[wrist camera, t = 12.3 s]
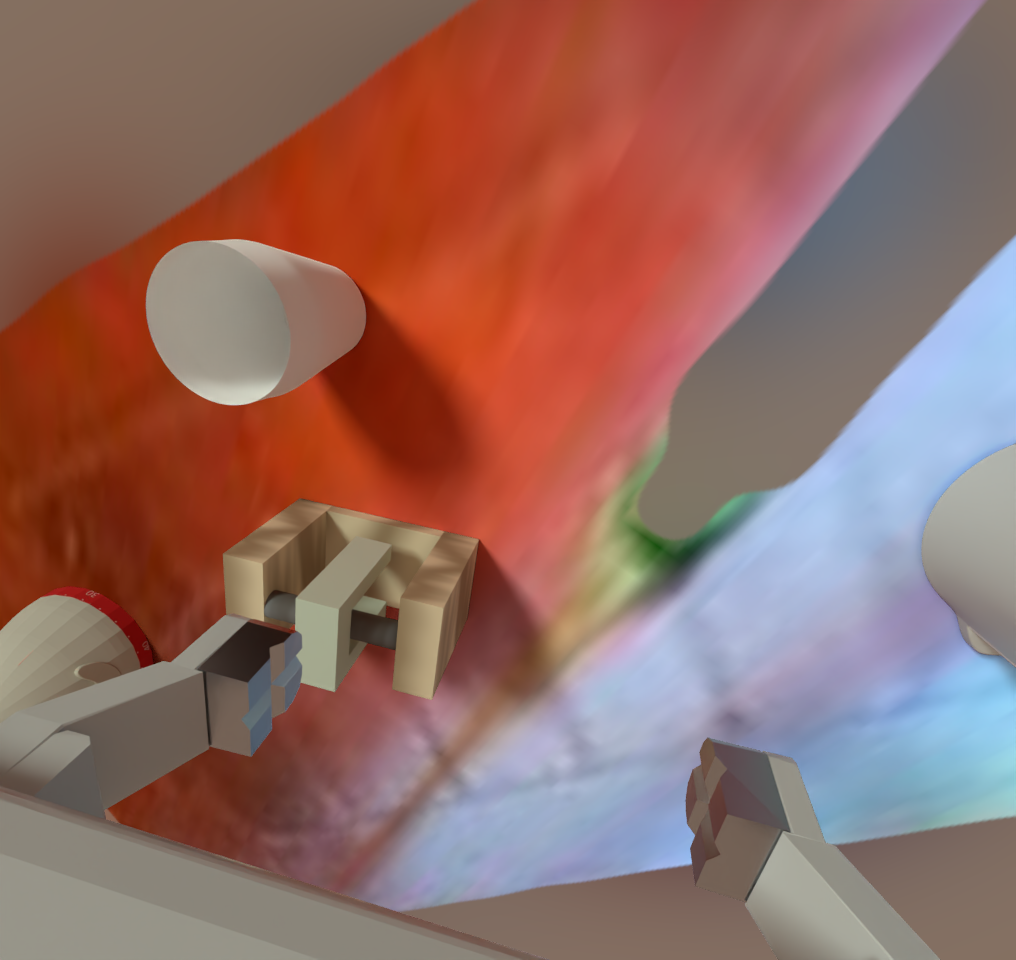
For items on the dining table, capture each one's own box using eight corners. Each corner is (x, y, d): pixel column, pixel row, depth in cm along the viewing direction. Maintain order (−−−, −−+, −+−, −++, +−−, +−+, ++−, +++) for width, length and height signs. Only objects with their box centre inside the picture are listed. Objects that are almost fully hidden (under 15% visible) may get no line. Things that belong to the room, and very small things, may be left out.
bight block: (391, 544, 44) (338, 609, 35) (385, 616, 46) (334, 691, 38) (356, 535, 44) (295, 598, 36) (352, 607, 47) (294, 680, 38)
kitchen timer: (59, 683, 63) (-99, 801, 49) (22, 579, 58) (-166, 677, 44) (166, 702, 60) (32, 830, 46) (137, 595, 55) (-23, 703, 41)
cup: (346, 395, 43) (252, 439, 32) (251, 323, 42) (122, 342, 31) (404, 297, 39) (321, 309, 28) (301, 218, 39) (175, 198, 28)
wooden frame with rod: (479, 539, 45) (443, 608, 36) (467, 618, 48) (431, 699, 39) (299, 498, 47) (222, 554, 38) (299, 576, 50) (228, 645, 41)
